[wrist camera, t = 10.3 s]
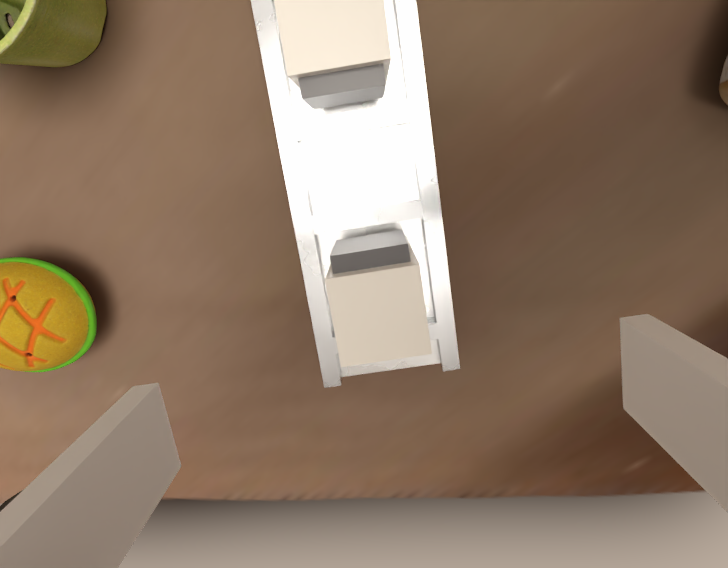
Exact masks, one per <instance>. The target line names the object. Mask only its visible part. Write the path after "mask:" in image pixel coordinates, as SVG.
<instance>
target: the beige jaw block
mask: <svg viewBox="0 0 728 568" xmlns="http://www.w3.org/2000/svg"><path fill="white" fill-rule="evenodd" d="M330 261H331V264H330V267H329V269H328V272H327V274H326V277H325V285H326V290H327V295H328V301H329V306H330V311H331V316H332V322H333V327H334V332H335V338H336V343H337V348H338V353H339V359H340V364H341V367H347V366H354V365H361V364H367V363H374V362H381V361H388V360H394V359H401V358H408V357H414V356H421V355H428V354H432V350H431V342H430V335H429V328H428V321H427V314H426V307H425V300H424V293H423V286H422V279H421V272H420V265H419V262H418V260H417V258H416V256H415V254H414V252H413V249H412V247H411V245H410V243H409V241H408V239H407V236H405V235H404V233H403V231H402V230H396V231H390V232H384V233H378V234H372V235H365V236H359V237H353V238H347V239H341V240H336V242H335V245H334V247H333V249H332V252H331V254H330Z"/></svg>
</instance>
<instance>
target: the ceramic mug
mask: <svg viewBox="0 0 728 568" xmlns="http://www.w3.org/2000/svg"><path fill="white" fill-rule="evenodd" d="M719 93H720V96H721V98H722V100H723V101H724V102H725V103H726V104H727V105H728V55H727V58H726V60H725V63H724V66H723V71H722V75H721V79H720V84H719Z"/></svg>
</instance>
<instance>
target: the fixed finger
mask: <svg viewBox="0 0 728 568" xmlns="http://www.w3.org/2000/svg"><path fill="white" fill-rule="evenodd" d="M274 4H275V10H276V15H277V21H278V26H279V32H280V37H281V43H282V48H283V54H284V60H285V65H286V71H287V76H288V77H289V78H290V79H291V80H292V81H293V82H294V83H295V84H296V85H297V86H298V87H299V88H300V91H301V97H302V100H303V101H305V102H306V103H307V104H308V105H309V106H310V107H311V108H313V109H320V108H326V107H332V106H338V105H344V104H350V103H356V102H362V101H368V100H374V99H380V98H384V93H385V88H386V83H387V78H388V73H389V68H390V63H391V50H390V43H389V35H388V28H387V20H386V13H385V5H384V0H274Z"/></svg>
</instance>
